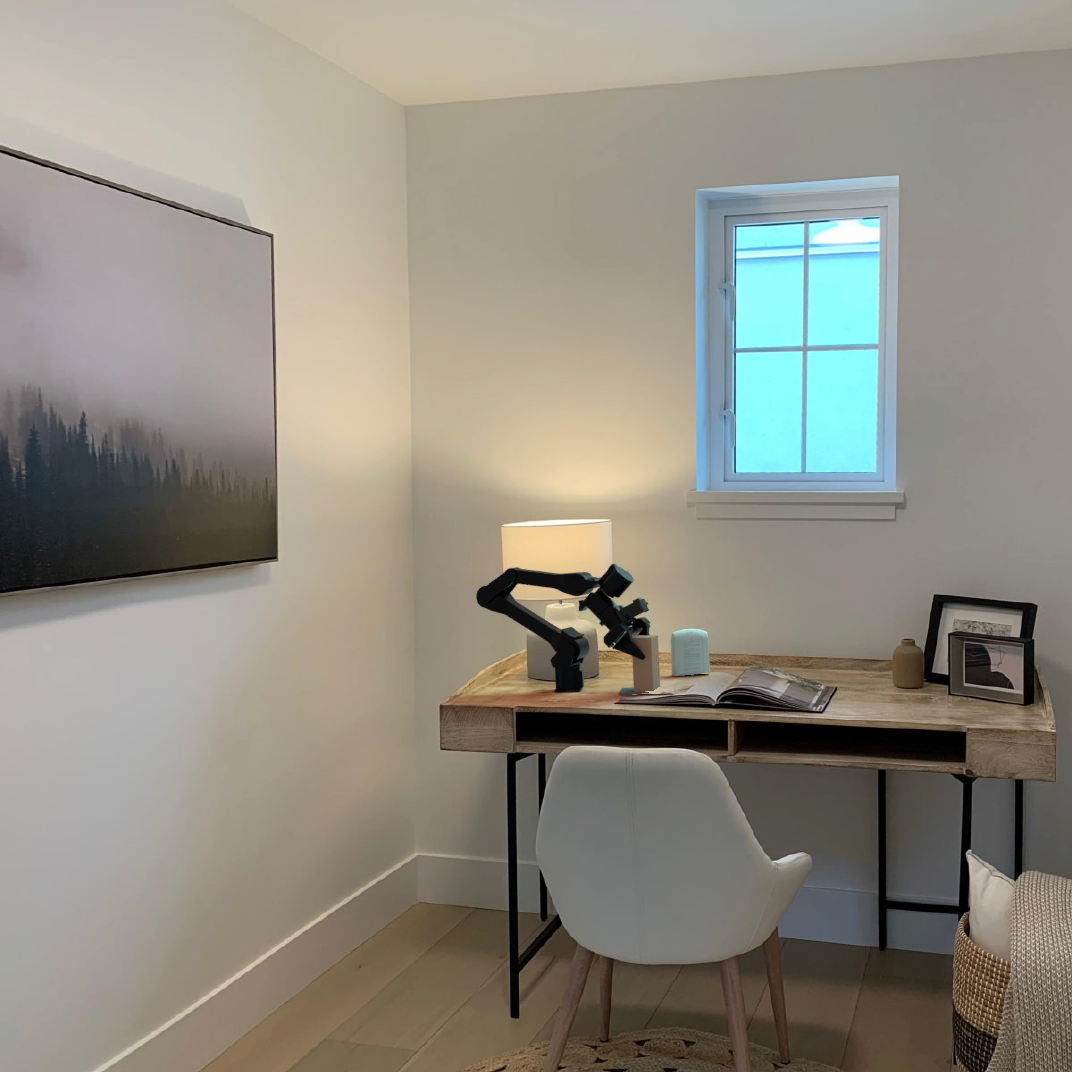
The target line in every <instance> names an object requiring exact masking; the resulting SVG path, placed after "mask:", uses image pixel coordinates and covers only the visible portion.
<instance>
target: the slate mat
mask: <svg viewBox="0 0 1072 1072" xmlns="http://www.w3.org/2000/svg"><path fill="white" fill-rule="evenodd" d="M642 693H649V692H645V691H634V686H632V687H628V686H627V687H626V686H625V687H624V686H623V687H621V688H620V691H619V692H618V695H619V696H621V697H622V696H623V697H624V696H633V695H632V694H642Z"/></svg>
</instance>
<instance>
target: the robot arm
mask: <svg viewBox="0 0 1072 1072" xmlns="http://www.w3.org/2000/svg"><path fill="white" fill-rule="evenodd" d="M633 582H635V579H634V577H633V575H632V574H631V573H630V572H629V571H627V570H625V569H624V568H622V567H621V566H618V565H617V564H616V563H611V564H610V566H609V567H608V568H607V570H606V571H605V572H604V574H602V576H599V577H597V576H592V574H591V573H590V572H588V571H578V572H566V573H564V572H563V573H557V572H551V571H550V572H549V571H541V570H533V569H527V568H520V567H509V568H507V569H506V570H505V571H503V572H502V574H500V575H499V576H498V577H496V578H495V579H492V581H490V582H489V583H488V584H487V585H482V586H480V587H479V588H478V589H477V591H476V594H475V595H476V596H475V597H476V598H475V599H476V603H477V604H478V606H480V607H481V608H484V609H486V610H489V611H491V612H494V613H498V614H502V615H504V616H506V617H508V618H509V619H510V620H513V621H514V622H515V623H517V624H519V625H520V626H522V627H524V628H525V629H526V630H528V631H529V632H531V633H533V634H534V635H536V636H537V637H539V638H541V639H543V640H544V641H545V642H547V643H548V644H549V646H551V647H552V649H553V651H554V652H555V653H554V655H553V656H552V657H551V658H550V663H551V666H552V668H554V675H555V676H554V678H555V689H554V692H556V693H557V692H559V693H560V692H581V691H582V690H583V688H584V687H585V678H584V677H585V676H584V670H583V669H582V664H584V660H585V657H586V656H587V655H588V654H589V653H590V643H589V640H588V639H587V638H586V637H585V634H584V633H581V632H579V631H578V630H576V629H575V628H574V627H573V626H570V627H566V628H559V627H558V626H556V625H554V624H553V623H551V622H550V621H548V620H547V619H545V618H543V617H542V616H540V615H538V614H537V613H535V612H534V611H532V610H531V609H529V608H528V607H526V606H524V605H523V604H521V603H519V602H518V601H517V600H516V599H515V598H514V596H513V595H512V592H513V591H514V589H515V588H516V587H517V585H525V586H531V587H533V586H534V587H540V588H548V589H554V590H557V591H559V592H561V593H564V594H566V595H570V596H573V597H580V596H581V597H582V596H586V595H587V596H586V597H585V598H584V599H581V600H578V612H584V611H587V610H589V611H590V612H591V613H592V614H593V615H594V616H595V617H596V618H597V619H598V620H599V623H598V624H599V625H600V626H601V627H603V626H604V627H606V628H607V629H608V631H607V632H606V634H605V635H604V636H603V644H605V646H606V647H607V648H609V649H610V648H612V650H616V651H619V652H621V653H624V654H627V655H629V656H631V657H632V656H634V657H636V658H639V659H641V660H644V659H645V658H646V656H645V655H644V653H643V652H642V651H641V649H640V648H639V647H638V645H637V644H636V643H635V641H634V640H633V638H632V637H635V636H638V635H650V628H651V621H649V620H648V618H647V617H645V616H643V617H642V616H641V617H637V616H640V615H641V614H643V613H647V612H649V611H650V609H649V607H648V605H649V603H648V601H646V599H645V598H642V597H637V598H636V599H633V600H632V602H631V603H629V604H628V605H626V606H624V605H622V604H620V605H619V604H617V603H616V602H615V601H614V600H613V599H614V598H621V596H622V595H623V594H624V593H625V592H626V590H627V589H629V587H630V586H631V585H632V584H633ZM594 589H597V590H596V591H593V590H594Z"/></svg>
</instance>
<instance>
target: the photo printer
mask: <svg viewBox="0 0 1072 1072" xmlns="http://www.w3.org/2000/svg"><path fill="white" fill-rule="evenodd" d="M670 636H671V638H670V653H671V654H670V658H671V662H670V663H671V664H670V665H671V677H686V676H685V675H691V676H695V675H694V674H701V673H709V672H710V646H709V645H710V643H709V642H710V641H709V634H708V631H706V630H703V629H698V628H684V629H679V630H676V631H673V632H672V633H671V635H670Z"/></svg>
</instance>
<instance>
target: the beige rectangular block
mask: <svg viewBox="0 0 1072 1072" xmlns="http://www.w3.org/2000/svg"><path fill="white" fill-rule="evenodd" d="M632 638H633V640H634V641H635V643H636V644H637V645H638V647H639V648H640V649H641V651H642V652H643V653H644V655H645V656H646V658H645V659H644V660H641V659H639V658H636V657H634V656H631V657H632V678H633V682H632V683H633V687H634V691H654V690H655V689H657V688H658V687H661V674H660V672H661V671H660V655H659V654H660V651H659V650H660V649H659V635H655V634H653V635H650V634H649V635H638V636H635V637H632Z"/></svg>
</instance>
